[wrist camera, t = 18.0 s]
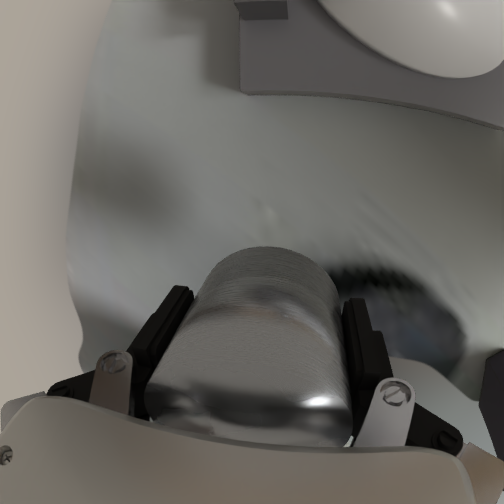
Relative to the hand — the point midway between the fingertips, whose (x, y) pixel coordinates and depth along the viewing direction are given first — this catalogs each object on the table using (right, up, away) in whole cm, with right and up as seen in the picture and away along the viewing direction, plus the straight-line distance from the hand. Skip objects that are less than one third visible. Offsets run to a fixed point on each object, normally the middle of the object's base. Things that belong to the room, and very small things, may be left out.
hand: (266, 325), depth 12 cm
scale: (+8, +21, +1) cm, 23 cm away
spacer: (0, 0, +1) cm, 1 cm away
